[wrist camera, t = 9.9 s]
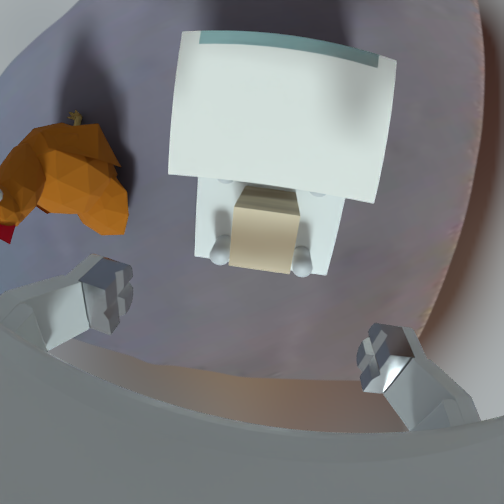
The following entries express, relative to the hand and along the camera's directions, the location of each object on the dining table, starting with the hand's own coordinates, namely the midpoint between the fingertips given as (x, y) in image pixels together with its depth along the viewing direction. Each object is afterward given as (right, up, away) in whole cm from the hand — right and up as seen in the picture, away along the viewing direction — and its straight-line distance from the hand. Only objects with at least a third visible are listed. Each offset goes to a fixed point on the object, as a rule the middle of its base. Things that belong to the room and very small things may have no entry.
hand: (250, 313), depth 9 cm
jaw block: (+1, +5, +14) cm, 15 cm away
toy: (-15, +10, +15) cm, 24 cm away
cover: (+2, +12, +10) cm, 16 cm away
